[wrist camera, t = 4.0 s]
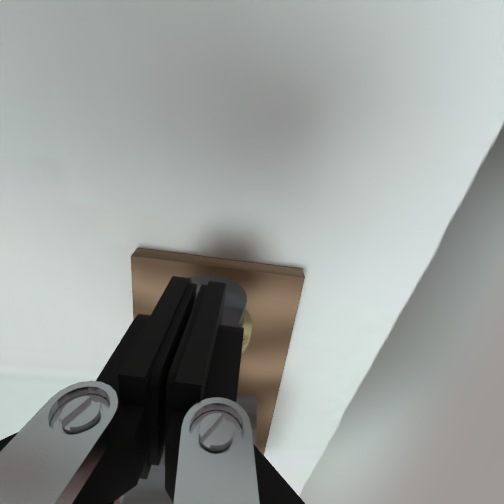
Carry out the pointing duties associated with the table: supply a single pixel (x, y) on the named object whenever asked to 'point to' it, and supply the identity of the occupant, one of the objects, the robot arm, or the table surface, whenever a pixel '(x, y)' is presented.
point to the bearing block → (255, 355)
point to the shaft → (231, 304)
